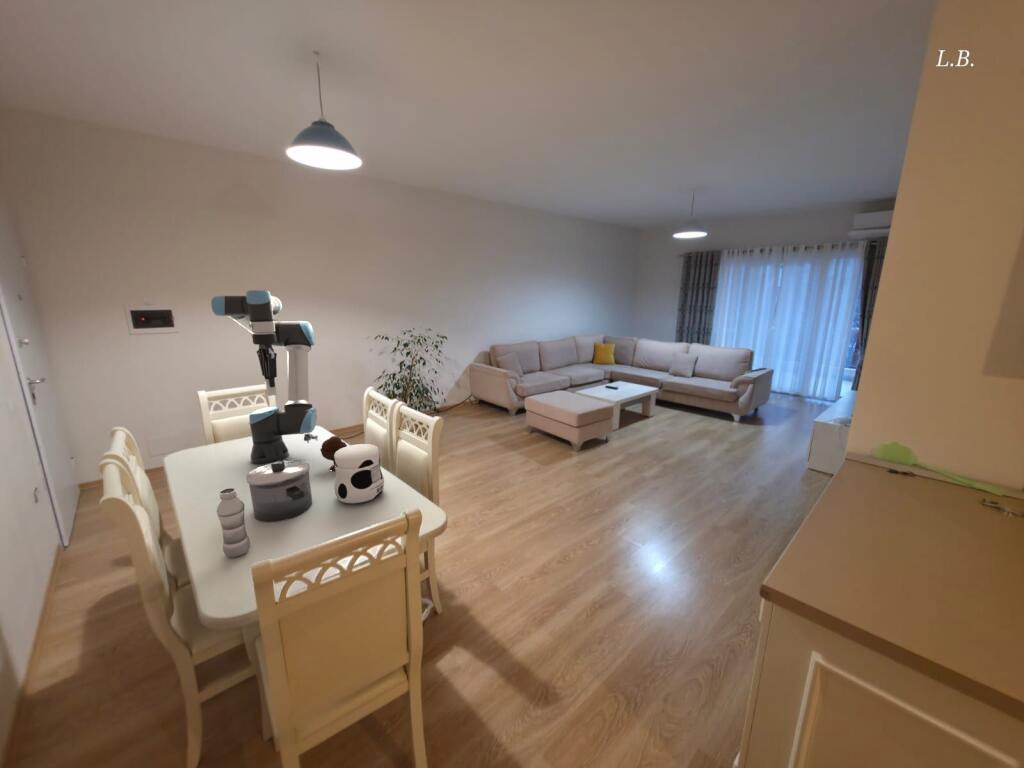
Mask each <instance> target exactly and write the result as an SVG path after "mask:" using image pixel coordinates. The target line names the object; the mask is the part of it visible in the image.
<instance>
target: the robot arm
mask: <svg viewBox="0 0 1024 768" xmlns="http://www.w3.org/2000/svg"><path fill="white" fill-rule="evenodd" d="M245 294H246V295H215V296H213V297H212V299H211V302H210V303H211V304H210V306H211V310H212V312H213V314H214V315H215V316H217V317H229V318H230V319H232V320H233V321H235V322H236V323H237V324H238V325H239V326H241V327H242V328H244V329H245V330H246V331H248V332H249V335H251V338H252V344H254V345H256V346H257V345H258V350H256V355H257V358H258V362H259V366H260V370H261V374H262V377H264V380H265V386H266V392H267V396H269V397H271V396H277V395H278V394H277V393H278V392H277V386H276V378H277V377H278V372H277V371H278V370H277V356H278V355H277V352H275V350H274V348H273V347H274V346H275V347H283V349H284V350H285V352H286V353H287V402H286V403H285V404H284V406H283V407H284V408H283V409H280V408H279V407H278V406H268V407H263V408H259V409H257V410H255V411H252V412H251V413H250V414H249V417H248V418H249V426H250V428H249V429H250V433H251V438H252V448H251V453H250V462H251V463H252V464H255V465H267V464H271V463H273V462H276V461H283V460H284V459H286V458H287V457H289V454H290V453H289V448H288V447H287V445H286V444H285V443H286V442H284V439H283V436H290V435H304V434H310V433H312V432H313V431H314V430H315V428H316V425H317V418H318V417H317V408H316V407H313V404H312V403H311V402H310V399H309V398H310V397H309V394H310V393H309V352H310V351H311V350H312V346H315V345H316V337H315V333H314V329H313V327H312V324H311V323H310V322H309V321H306V320H305V321H303V320H296V321H295V320H293V321H292V320H291V321H290V320H289V321H287V320H286V321H275V320H274V316H276V315H277V314H279V313H280V312H281V311H282V309H283V304H282V301H281V300H280V299H279V298H278V297H277V296H274V295H271V293H270V291H269V290H266V289H265V290H262V289H261V290H258V289H257V290H254V289H253V290H250V289H249V290H247V291H246V293H245Z"/></svg>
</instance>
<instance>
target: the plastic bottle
mask: <svg viewBox="0 0 1024 768" xmlns="http://www.w3.org/2000/svg"><path fill="white" fill-rule="evenodd" d="M237 496H238V494H237V492H236V489H235V488H233V487H230V488H225V489H222V490H220V491H219V497H220V498H219V500H220V502H219V504H218V506H217V509H216V515H217V518H218V520H219V523H220V527H221V530H222V538H223V542H222V551H223V553H224V556H226V557H228V558H238V557H241V556H243V555H245V554H246V553H248V551H249V550H250V548H251V540H250V536H249V535H248V532H247V528H246V521H245V503H244V501H242V499H241V498H238V497H237Z"/></svg>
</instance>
